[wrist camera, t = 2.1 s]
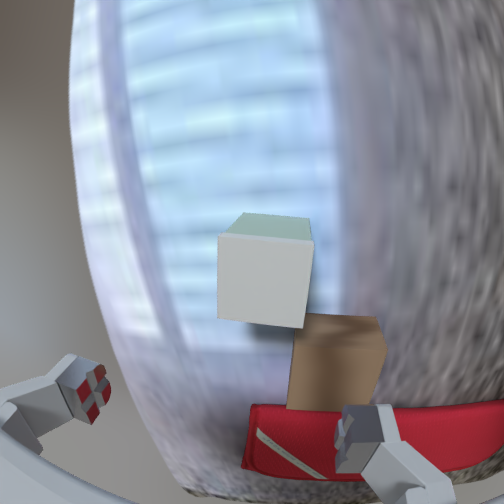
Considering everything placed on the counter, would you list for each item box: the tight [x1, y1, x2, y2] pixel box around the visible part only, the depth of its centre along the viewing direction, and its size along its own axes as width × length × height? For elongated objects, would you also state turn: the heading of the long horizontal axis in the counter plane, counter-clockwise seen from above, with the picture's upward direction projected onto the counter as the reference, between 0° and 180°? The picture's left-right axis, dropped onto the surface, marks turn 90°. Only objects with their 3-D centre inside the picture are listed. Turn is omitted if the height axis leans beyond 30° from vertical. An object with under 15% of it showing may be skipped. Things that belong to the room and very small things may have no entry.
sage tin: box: [217, 213, 314, 329], centre depth 20 cm, size 5×5×7 cm
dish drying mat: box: [241, 399, 504, 482], centre depth 28 cm, size 16×41×4 cm, turn 84°
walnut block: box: [286, 313, 388, 412], centre depth 24 cm, size 7×7×5 cm
